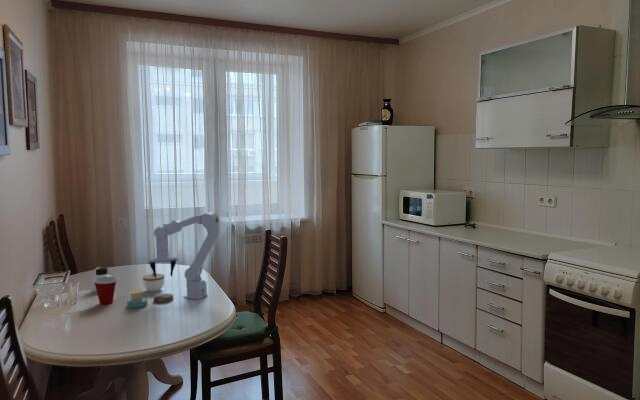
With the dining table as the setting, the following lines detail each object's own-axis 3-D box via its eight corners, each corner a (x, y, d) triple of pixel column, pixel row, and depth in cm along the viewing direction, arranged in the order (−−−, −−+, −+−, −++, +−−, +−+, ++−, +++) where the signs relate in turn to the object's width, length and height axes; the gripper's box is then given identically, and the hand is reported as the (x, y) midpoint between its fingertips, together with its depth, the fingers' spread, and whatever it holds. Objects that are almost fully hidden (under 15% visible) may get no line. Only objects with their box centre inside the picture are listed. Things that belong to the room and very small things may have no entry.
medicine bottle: (112, 287, 256) (111, 266, 254) (105, 291, 249) (103, 269, 247) (99, 287, 256) (98, 266, 255) (92, 291, 249) (90, 269, 248)
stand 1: (151, 303, 228) (151, 299, 227) (137, 309, 219) (136, 305, 219) (137, 301, 231) (137, 297, 231) (123, 307, 223) (122, 302, 223)
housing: (141, 303, 222) (141, 292, 222) (131, 304, 221) (131, 293, 221) (142, 298, 229) (141, 288, 229) (132, 299, 228) (131, 289, 227)
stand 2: (177, 298, 235) (176, 294, 235) (163, 304, 227) (163, 300, 227) (163, 296, 239) (163, 292, 238) (149, 301, 231) (149, 297, 230)
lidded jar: (151, 294, 242) (150, 276, 241) (139, 291, 249) (138, 273, 248) (169, 289, 251) (168, 272, 250) (157, 286, 257) (156, 269, 256)
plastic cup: (109, 307, 224) (108, 282, 222) (89, 305, 226) (88, 281, 225) (123, 299, 234) (122, 276, 233) (104, 298, 236) (102, 275, 235)
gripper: (177, 247, 243) (178, 273, 244) (147, 249, 238) (148, 275, 239) (177, 250, 236) (178, 276, 237) (147, 252, 231) (148, 279, 233)
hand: (163, 276), depth 238 cm, fingers open, 7 cm apart
